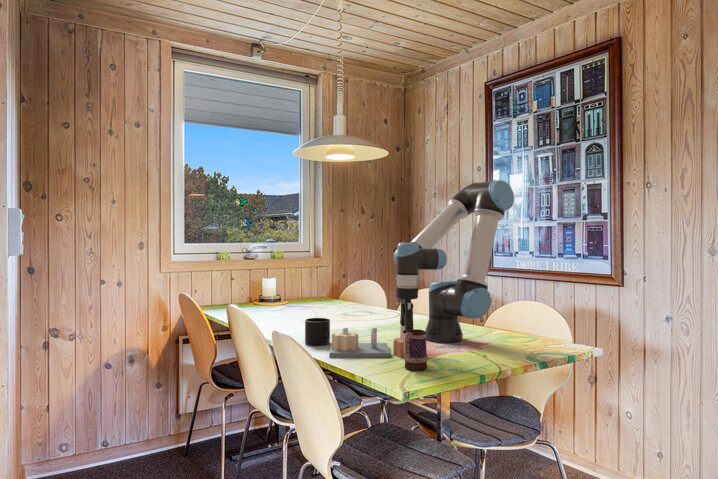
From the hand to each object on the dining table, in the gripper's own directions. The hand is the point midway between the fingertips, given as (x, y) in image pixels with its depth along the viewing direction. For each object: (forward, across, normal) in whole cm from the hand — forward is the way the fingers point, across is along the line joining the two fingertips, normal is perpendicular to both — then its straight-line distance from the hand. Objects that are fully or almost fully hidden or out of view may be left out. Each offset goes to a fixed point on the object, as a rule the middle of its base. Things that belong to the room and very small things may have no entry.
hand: (405, 348), depth 174 cm
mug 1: (+3, -17, -31) cm, 36 cm away
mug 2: (+3, +20, 0) cm, 20 cm away
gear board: (+2, -4, -16) cm, 17 cm away
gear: (+2, 0, 0) cm, 2 cm away
